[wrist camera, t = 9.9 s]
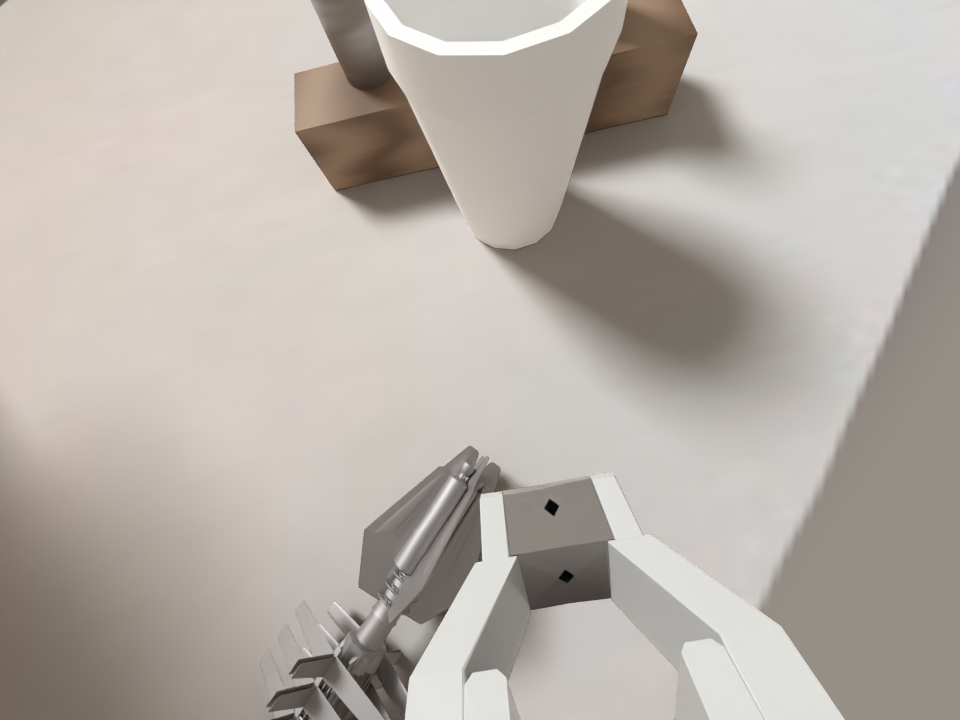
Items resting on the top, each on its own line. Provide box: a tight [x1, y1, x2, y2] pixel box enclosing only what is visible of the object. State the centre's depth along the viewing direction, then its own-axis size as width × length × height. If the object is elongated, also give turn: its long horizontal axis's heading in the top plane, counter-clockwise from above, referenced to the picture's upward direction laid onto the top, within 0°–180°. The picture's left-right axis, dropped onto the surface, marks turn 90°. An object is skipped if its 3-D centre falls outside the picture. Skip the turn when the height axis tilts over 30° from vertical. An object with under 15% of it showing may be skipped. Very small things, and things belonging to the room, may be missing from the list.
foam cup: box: [364, 0, 628, 250], centre depth 19 cm, size 10×9×13 cm
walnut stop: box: [294, 0, 698, 190], centre depth 22 cm, size 24×5×11 cm, turn 99°
